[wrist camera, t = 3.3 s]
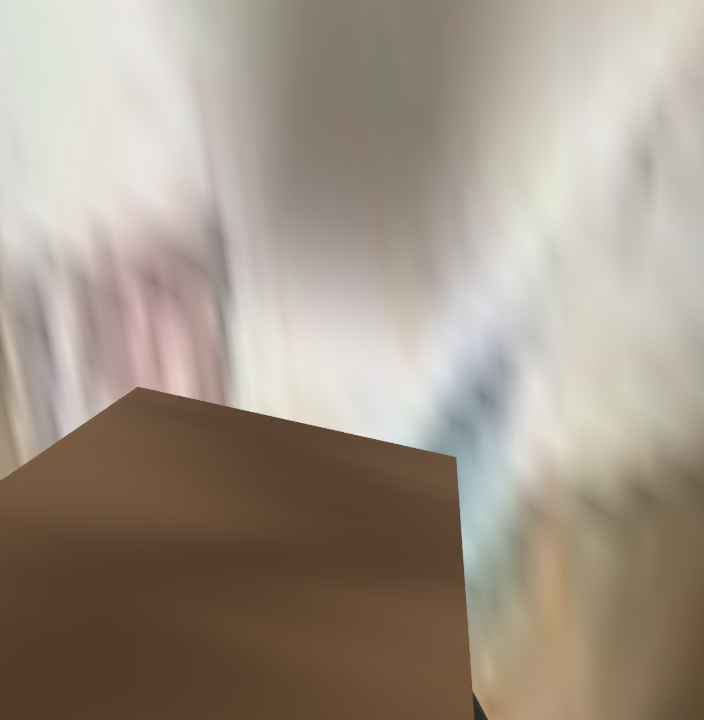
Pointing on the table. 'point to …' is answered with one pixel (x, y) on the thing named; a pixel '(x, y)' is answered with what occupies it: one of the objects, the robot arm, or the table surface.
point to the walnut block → (230, 572)
